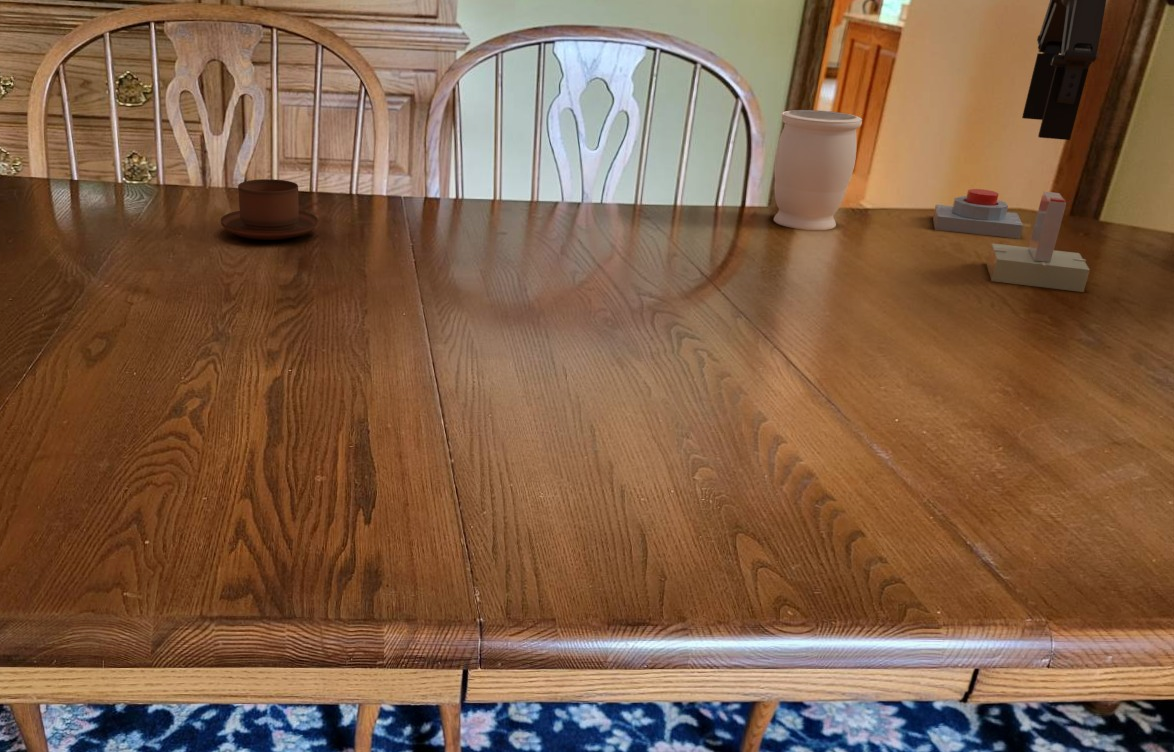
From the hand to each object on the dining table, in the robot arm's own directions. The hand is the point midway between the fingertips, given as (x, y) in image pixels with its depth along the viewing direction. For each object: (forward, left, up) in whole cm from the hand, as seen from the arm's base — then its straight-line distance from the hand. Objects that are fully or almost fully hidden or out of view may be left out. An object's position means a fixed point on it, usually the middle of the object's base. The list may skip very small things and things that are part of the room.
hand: (1044, 128), depth 111 cm
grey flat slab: (-5, -18, -17) cm, 25 cm away
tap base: (-5, -18, -20) cm, 27 cm away
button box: (0, -43, -20) cm, 47 cm away
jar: (+23, -34, -20) cm, 45 cm away
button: (0, -43, -16) cm, 46 cm away
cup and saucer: (+86, +5, -20) cm, 88 cm away
